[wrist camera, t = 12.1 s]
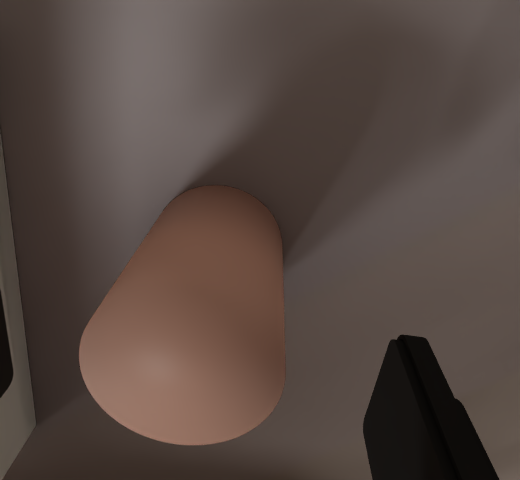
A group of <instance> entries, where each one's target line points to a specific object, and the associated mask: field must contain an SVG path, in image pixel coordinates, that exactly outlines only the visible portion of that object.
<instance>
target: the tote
mask: <svg viewBox="0 0 520 480" xmlns="http://www.w3.org/2000/svg"><path fill="white" fill-rule="evenodd" d="M0 290H1V295H2V301H3V307H4V314H5V320H6V326H7V333H8V339H9V345H10V352H11V358H12V364H13V372H14V374H13V379H12V382H11V384H10V386H9V388H8V389H7V390H6V392H5V393H4V394H3V395H2V397H1V398H0V480H2V479H3V477H4V476H5V474H6V473H7V471H8V470H9V468H10V466H11V465H12V463H13V462H14V460H15V458H16V457H17V455H18V454H19V452H20V450H21V449H22V447H23V446H24V444H25V442H26V441H27V439H28V438H29V436H30V434H31V433H32V431H33V430H34V428H35V426H36V418H35V410H34V401H33V393H32V385H31V377H30V369H29V360H28V352H27V344H26V336H25V328H24V320H23V311H22V303H21V295H20V287H19V279H18V270H17V262H16V254H15V246H14V238H13V230H12V221H11V213H10V205H9V197H8V189H7V180H6V172H5V164H4V156H3V148H2V140H1V131H0Z"/></svg>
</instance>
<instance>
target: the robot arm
mask: <svg viewBox="0 0 520 480" xmlns="http://www.w3.org/2000/svg"><path fill="white" fill-rule="evenodd" d="M13 374H14V372H13V364H12V358H11V352H10V345H9V339H8V333H7V326H6V320H5V314H4V307H3V301H2V295H1V290H0V398H1V397H2V395H3V394H4V393H5V392H6V390H7V389H8V388H9V386H10V384H11V382H12V379H13ZM363 433H364V439H365V444H366V449H367V454H368V459H369V464H370V469H371V474H372V479H373V480H499V478H498V476H497V474H496V472H495V470H494V468H493V466H492V463H491V461H490V459H489V457H488V455H487V453H486V451H485V449H484V447H483V445H482V443H481V441H480V439H479V437H478V435H477V433H476V430H475V428H474V426H473V424H472V422H471V420H470V418H469V416H468V414H467V412H466V410H465V408H464V406H463V405H462V403H461V402H460V401H459V400H457V399H455V398H454V396H453V393H452V391H451V389H450V387H449V385H448V383H447V381H446V379H445V376H444V374H443V372H442V370H441V368H440V366H439V364H438V362H437V359H436V357H435V355H434V353H433V351H432V349H431V347H430V345H429V342H428V341H427V339H426V338H424V337H417V336H409V335H400V336H399V337H398V339H397V340H394V339H392V340H391V341H390V343H389V345H388V348H387V351H386V354H385V357H384V360H383V363H382V366H381V369H380V372H379V375H378V378H377V381H376V384H375V387H374V390H373V393H372V396H371V400H370V403H369V406H368V409H367V412H366V415H365V418H364V423H363Z"/></svg>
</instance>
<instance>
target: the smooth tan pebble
mask: <svg viewBox="0 0 520 480" xmlns="http://www.w3.org/2000/svg"><path fill="white" fill-rule="evenodd" d="M79 363H80V370H81V373H82V377H83V380H84V382H85V384H86V386H87V388H88V390H89V392H90V393H91V395H92V396H93V398H94V400H95V401H96V402H97V403H98V404H99V405H100V407H101V408H102V409H103V410H104V411H105V412H106V413H107V414H109V415H110V416H111V417H112V418H113V419H115V420H116V421H117V422H119V423H120V424H122V425H123V426H125V427H127V428H128V429H130V430H132V431H134V432H136V433H138V434H140V435H143V436H146V437H148V438H151V439H154V440H158V441H162V442H166V443H172V444H178V445H208V444H215V443H220V442H224V441H228V440H231V439H234V438H237V437H239V436H241V435H243V434H245V433H247V432H249V431H250V430H252V429H254V428H255V427H257V426H258V425H259V424H260V423H262V422H263V421H264V420H265V419H266V418H267V417H268V416H269V415H270V414H271V413H272V411H273V410H274V408H275V407H276V405H277V404H278V402H279V399H280V397H281V395H282V392H283V389H284V385H285V377H286V367H285V328H284V289H283V250H282V237H281V232H280V229H279V227H278V224H277V222H276V220H275V218H274V217H273V215H272V214H271V212H270V211H269V210H268V209H267V208H266V207H265V205H264V204H262V203H261V202H260V201H259V200H258V199H256V198H255V197H253V196H252V195H250V194H248V193H246V192H244V191H242V190H239V189H236V188H233V187H228V186H221V185H207V186H201V187H197V188H194V189H191V190H188V191H186V192H184V193H182V194H180V195H179V196H177V197H176V198H175V199H173V200H172V201H171V202H170V203H169V204H168V205H167V206H166V208H165V209H164V210H163V212H162V213H161V215H160V216H159V218H158V219H157V221H156V222H155V224H154V225H153V227H152V228H151V230H150V231H149V233H148V234H147V236H146V237H145V239H144V240H143V241H142V243H141V244H140V246H139V247H138V249H137V250H136V252H135V253H134V255H133V256H132V258H131V259H130V261H129V262H128V264H127V265H126V267H125V268H124V270H123V271H122V273H121V274H120V276H119V277H118V279H117V280H116V282H115V283H114V285H113V286H112V288H111V289H110V291H109V292H108V294H107V295H106V297H105V298H104V300H103V301H102V303H101V304H100V306H99V307H98V309H97V310H96V311H95V313H94V314H93V316H92V317H91V319H90V321H89V322H88V324H87V326H86V327H85V330H84V332H83V335H82V337H81V342H80V347H79Z"/></svg>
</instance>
